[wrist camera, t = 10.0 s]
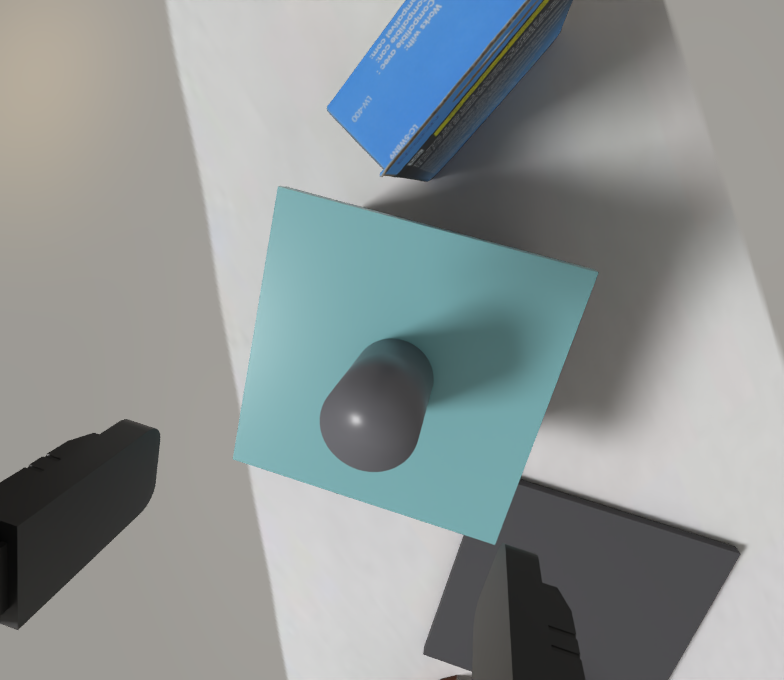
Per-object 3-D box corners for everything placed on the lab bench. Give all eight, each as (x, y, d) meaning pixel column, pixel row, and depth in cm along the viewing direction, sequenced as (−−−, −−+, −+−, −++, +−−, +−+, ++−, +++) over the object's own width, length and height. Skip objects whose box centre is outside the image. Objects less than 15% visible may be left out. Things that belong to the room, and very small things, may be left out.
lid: (286, 186, 20) (216, 184, 14) (594, 269, 18) (634, 297, 13) (241, 450, 23) (174, 520, 18) (494, 533, 22) (497, 632, 17)
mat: (487, 468, 29) (487, 474, 28) (735, 546, 28) (740, 553, 27) (424, 646, 33) (423, 654, 33) (636, 721, 32) (638, 730, 31)
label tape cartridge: (501, -31, 22) (518, -277, 11) (563, 32, 23) (648, -142, 11) (371, 133, 25) (273, 81, 13) (428, 187, 25) (380, 182, 14)
